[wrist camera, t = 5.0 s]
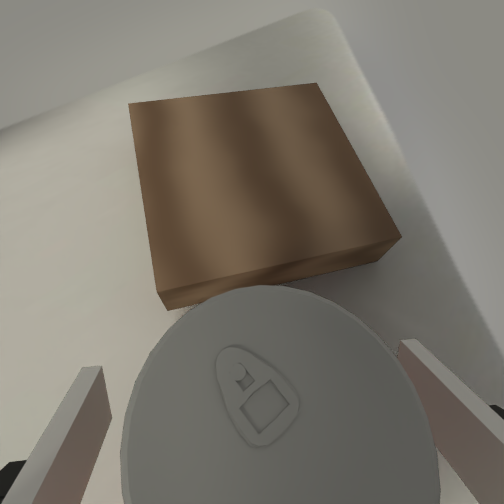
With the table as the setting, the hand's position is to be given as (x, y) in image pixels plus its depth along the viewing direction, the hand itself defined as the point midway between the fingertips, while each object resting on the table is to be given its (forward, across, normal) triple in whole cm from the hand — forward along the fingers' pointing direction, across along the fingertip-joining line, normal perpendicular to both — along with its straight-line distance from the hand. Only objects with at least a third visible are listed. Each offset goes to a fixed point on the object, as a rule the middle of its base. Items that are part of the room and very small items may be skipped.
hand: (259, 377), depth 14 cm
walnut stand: (+13, +1, +6) cm, 14 cm away
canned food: (+2, 0, -5) cm, 5 cm away
